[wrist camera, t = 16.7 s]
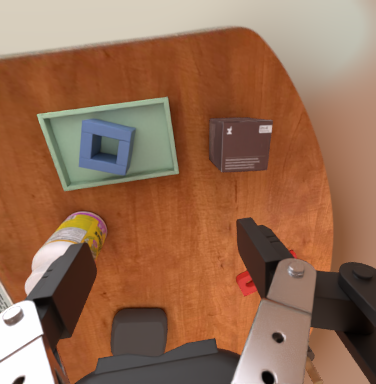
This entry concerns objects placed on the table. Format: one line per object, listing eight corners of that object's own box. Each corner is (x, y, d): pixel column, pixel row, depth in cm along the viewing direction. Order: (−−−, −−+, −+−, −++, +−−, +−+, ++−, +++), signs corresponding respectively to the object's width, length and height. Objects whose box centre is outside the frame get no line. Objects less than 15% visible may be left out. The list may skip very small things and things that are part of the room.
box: (207, 159, 33) (219, 173, 26) (208, 117, 31) (221, 120, 24) (246, 158, 34) (268, 171, 27) (250, 117, 32) (274, 119, 25)
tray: (167, 97, 30) (167, 96, 28) (178, 170, 33) (179, 173, 31) (44, 113, 29) (36, 114, 27) (69, 186, 32) (64, 191, 31)
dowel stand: (300, 304, 47) (343, 365, 36) (298, 328, 50) (337, 392, 39) (266, 310, 47) (299, 374, 36) (266, 335, 49) (296, 401, 38)
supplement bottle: (105, 248, 37) (78, 316, 25) (62, 242, 36) (13, 310, 24) (111, 213, 35) (84, 269, 23) (66, 205, 33) (13, 260, 21)
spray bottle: (169, 306, 43) (159, 383, 52) (112, 306, 42) (111, 385, 50) (170, 320, 40) (159, 398, 49) (108, 321, 39) (109, 401, 48)
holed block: (136, 128, 30) (132, 131, 26) (130, 167, 32) (125, 176, 28) (93, 118, 29) (81, 120, 25) (89, 158, 31) (78, 167, 27)
